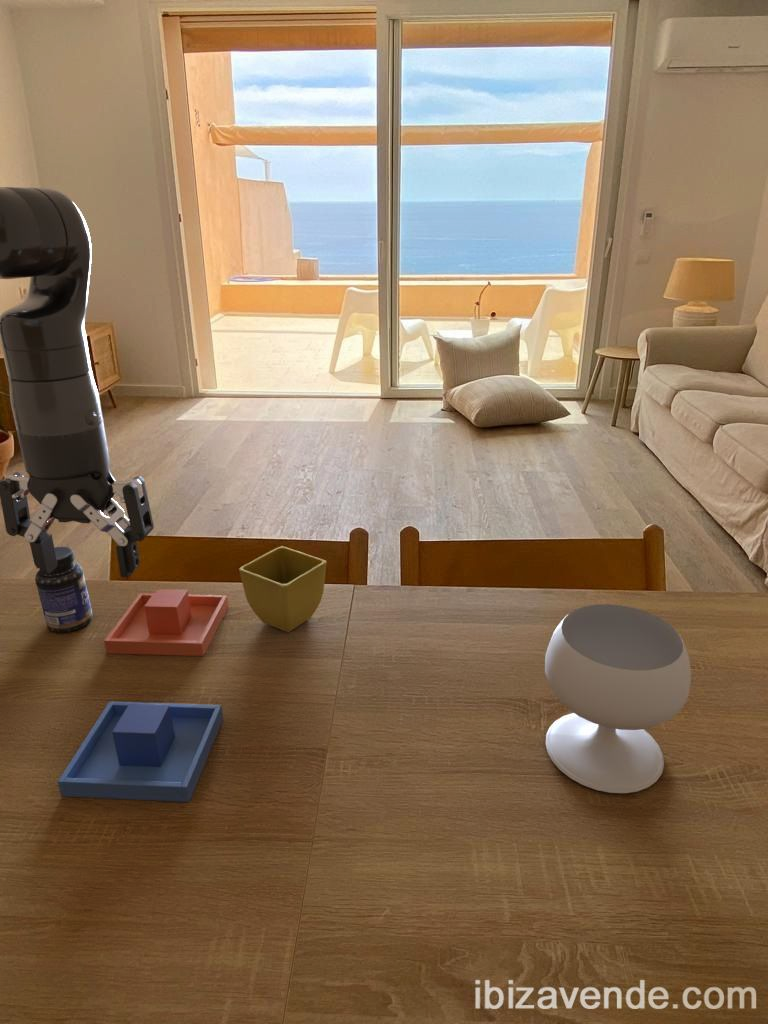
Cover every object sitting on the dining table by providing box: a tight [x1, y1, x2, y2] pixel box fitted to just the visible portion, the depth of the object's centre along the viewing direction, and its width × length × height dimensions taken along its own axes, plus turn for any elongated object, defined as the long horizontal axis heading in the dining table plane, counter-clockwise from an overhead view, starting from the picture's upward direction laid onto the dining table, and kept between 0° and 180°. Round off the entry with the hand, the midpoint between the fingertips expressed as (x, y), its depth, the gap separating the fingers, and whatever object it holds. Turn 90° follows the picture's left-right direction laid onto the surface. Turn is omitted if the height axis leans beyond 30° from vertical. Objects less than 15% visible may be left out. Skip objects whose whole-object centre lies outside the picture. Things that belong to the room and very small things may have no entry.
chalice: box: [544, 603, 692, 794], centre depth 71 cm, size 14×14×15 cm
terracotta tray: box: [103, 592, 229, 657], centre depth 97 cm, size 13×12×2 cm
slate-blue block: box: [112, 704, 175, 767], centre depth 74 cm, size 4×4×4 cm
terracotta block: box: [144, 589, 191, 635], centre depth 96 cm, size 4×4×4 cm
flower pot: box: [238, 545, 327, 633], centre depth 97 cm, size 9×9×9 cm
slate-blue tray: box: [57, 700, 224, 803], centre depth 75 cm, size 13×12×2 cm
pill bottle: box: [34, 546, 94, 634], centre depth 97 cm, size 6×6×11 cm
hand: (88, 572), depth 72 cm, fingers open, 8 cm apart
